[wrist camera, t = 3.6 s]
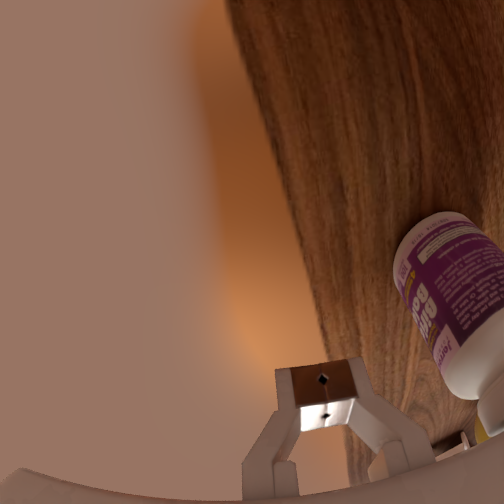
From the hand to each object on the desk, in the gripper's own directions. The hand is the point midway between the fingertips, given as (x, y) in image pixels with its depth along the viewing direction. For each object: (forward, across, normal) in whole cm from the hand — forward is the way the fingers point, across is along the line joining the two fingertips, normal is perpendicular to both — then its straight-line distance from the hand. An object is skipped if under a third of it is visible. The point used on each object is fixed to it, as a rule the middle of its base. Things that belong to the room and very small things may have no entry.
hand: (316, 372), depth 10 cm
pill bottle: (+6, -7, 0) cm, 9 cm away
